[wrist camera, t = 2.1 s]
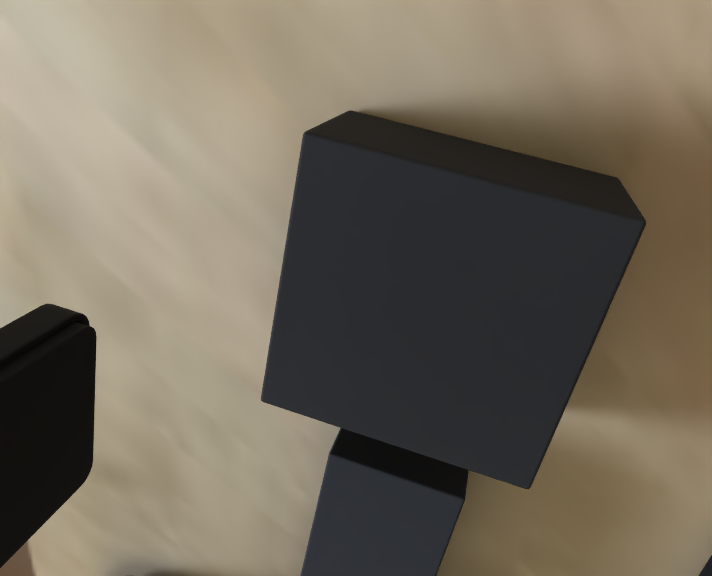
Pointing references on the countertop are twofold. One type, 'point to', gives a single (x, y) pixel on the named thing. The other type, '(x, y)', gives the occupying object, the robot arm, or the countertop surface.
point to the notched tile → (383, 511)
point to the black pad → (443, 291)
